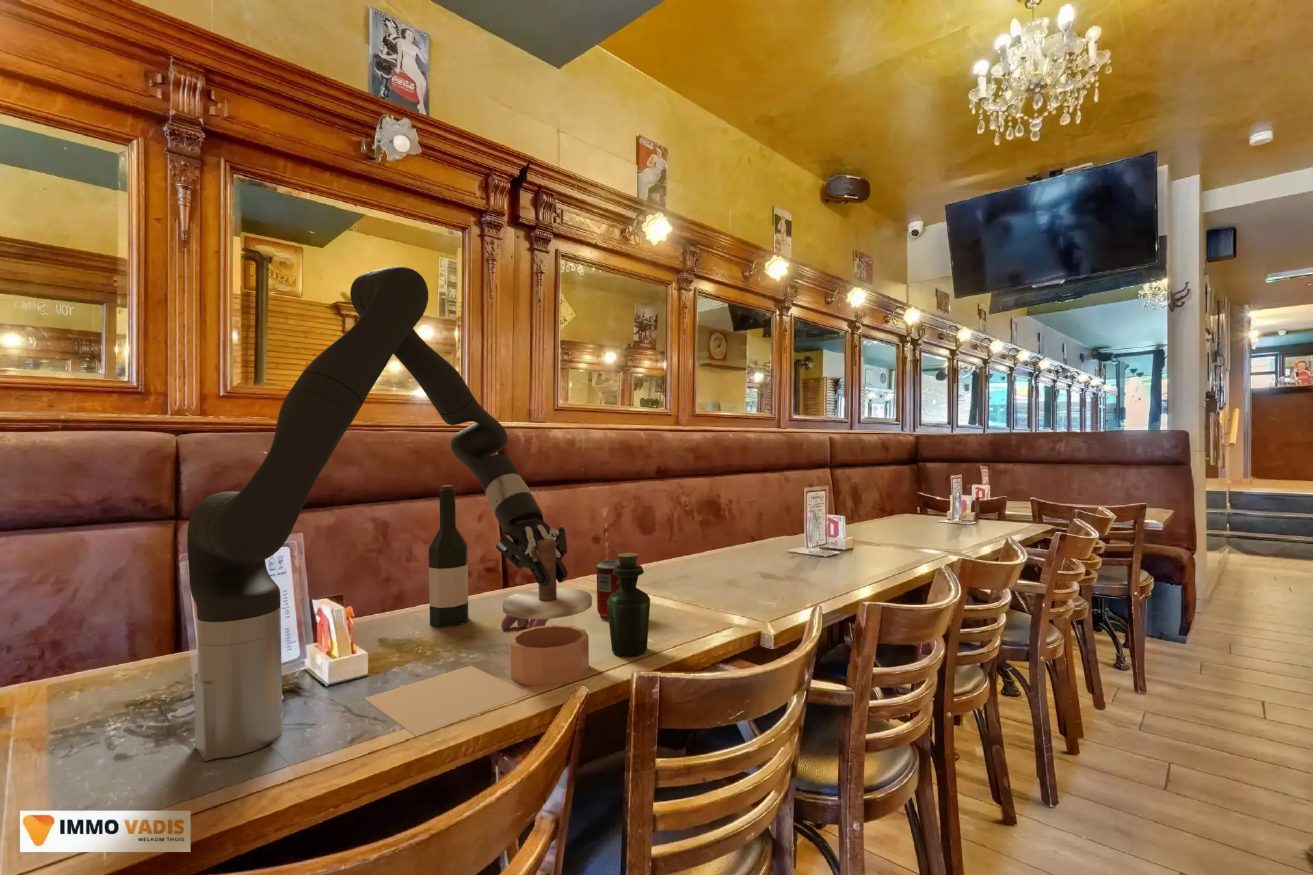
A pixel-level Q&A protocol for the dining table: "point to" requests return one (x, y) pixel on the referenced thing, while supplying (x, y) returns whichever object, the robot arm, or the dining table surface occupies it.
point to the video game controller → (522, 622)
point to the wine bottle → (448, 568)
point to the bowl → (549, 655)
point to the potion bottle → (628, 610)
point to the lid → (547, 593)
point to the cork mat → (444, 699)
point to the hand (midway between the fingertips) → (554, 581)
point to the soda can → (606, 585)
